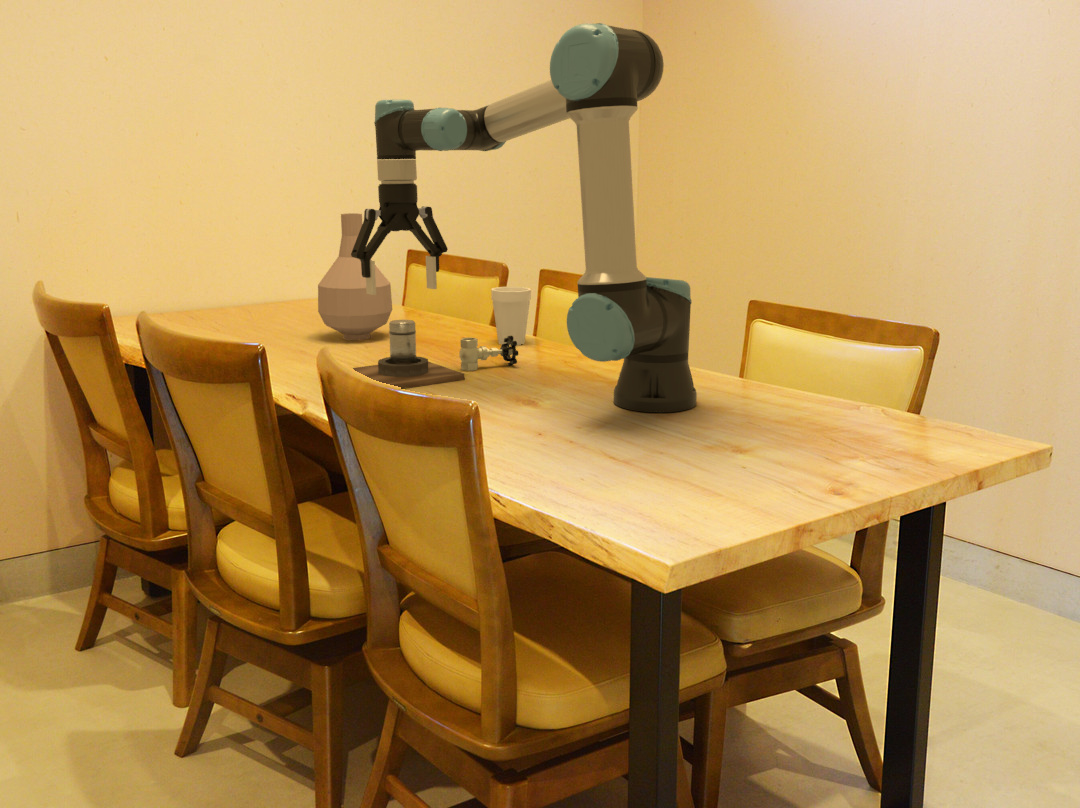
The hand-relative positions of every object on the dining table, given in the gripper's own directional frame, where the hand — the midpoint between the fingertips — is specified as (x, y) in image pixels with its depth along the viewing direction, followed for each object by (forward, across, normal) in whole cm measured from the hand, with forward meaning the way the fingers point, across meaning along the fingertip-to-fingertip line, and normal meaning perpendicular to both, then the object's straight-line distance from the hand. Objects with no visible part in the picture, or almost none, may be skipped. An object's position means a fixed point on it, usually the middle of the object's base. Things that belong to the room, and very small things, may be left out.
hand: (402, 291), depth 203 cm
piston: (+16, 0, -1) cm, 16 cm away
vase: (+17, -12, -47) cm, 51 cm away
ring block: (+18, 0, -1) cm, 18 cm away
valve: (+18, -19, +1) cm, 26 cm away
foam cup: (+18, -39, -19) cm, 46 cm away
